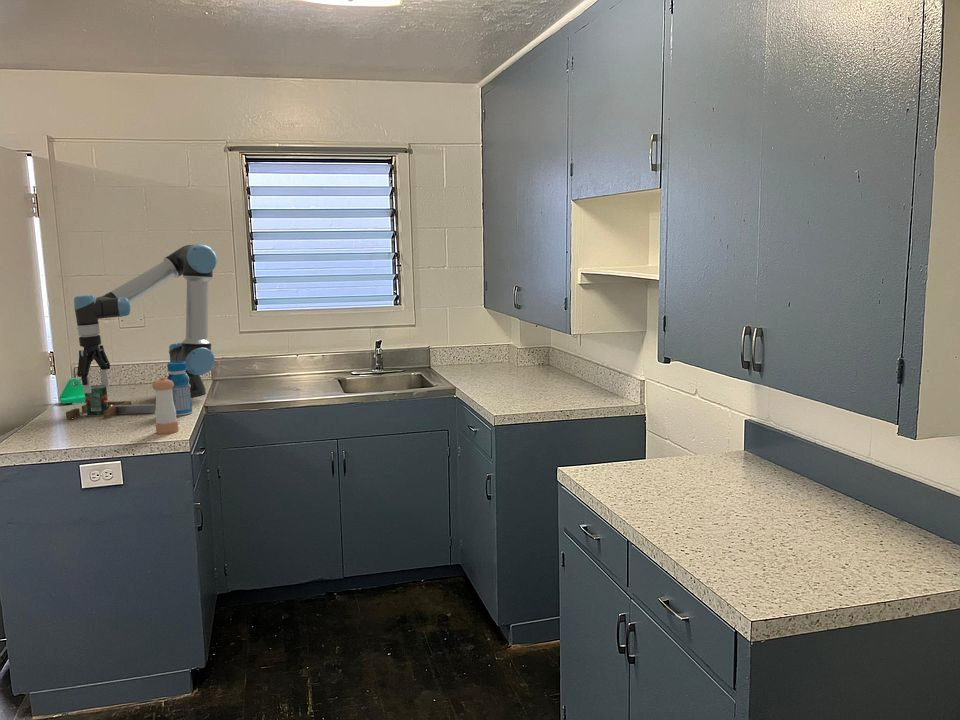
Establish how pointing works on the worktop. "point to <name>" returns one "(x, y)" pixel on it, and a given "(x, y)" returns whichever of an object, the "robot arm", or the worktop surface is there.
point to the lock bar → (133, 408)
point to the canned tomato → (96, 400)
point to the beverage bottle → (180, 387)
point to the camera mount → (72, 392)
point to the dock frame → (106, 413)
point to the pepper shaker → (165, 407)
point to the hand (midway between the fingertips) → (96, 389)
